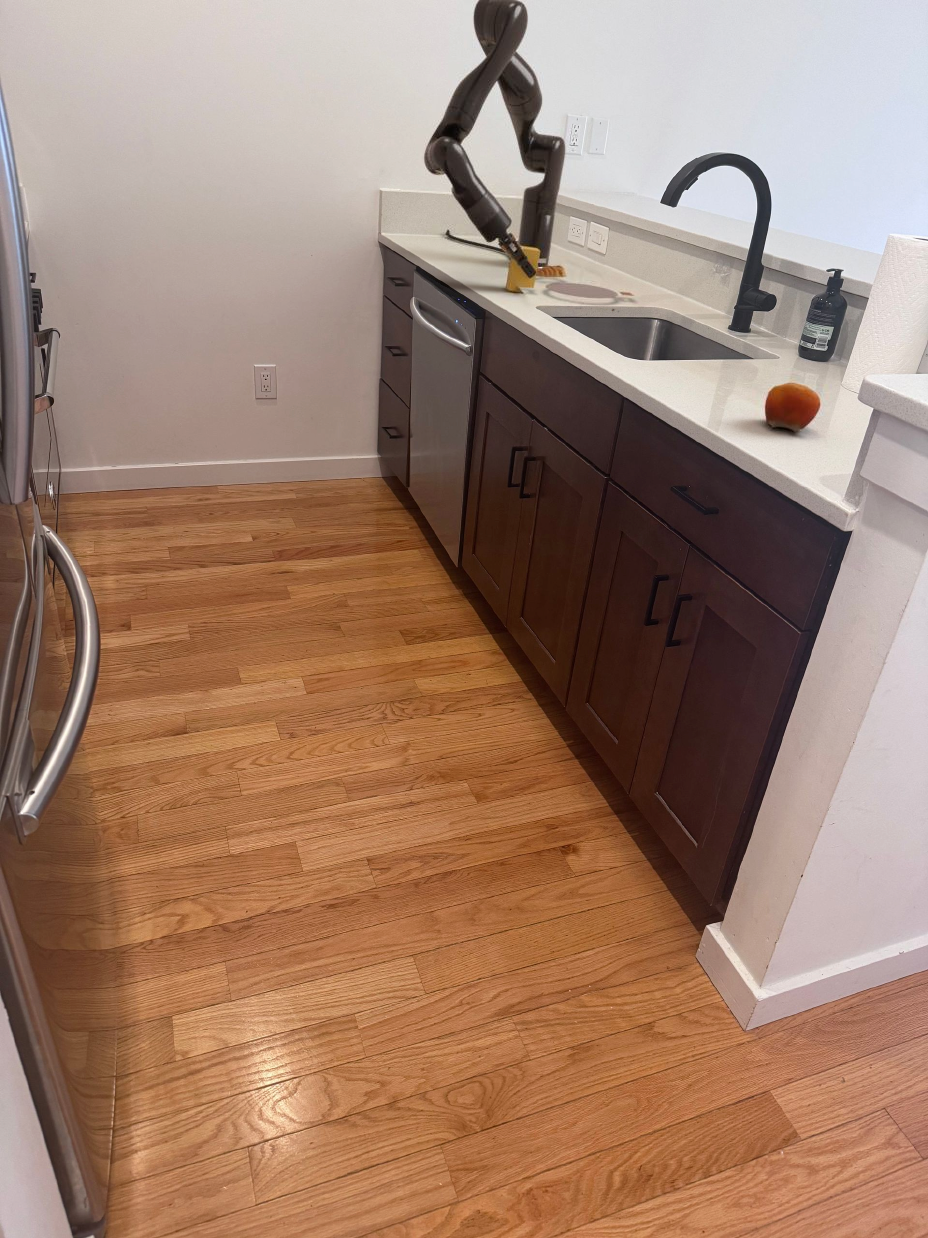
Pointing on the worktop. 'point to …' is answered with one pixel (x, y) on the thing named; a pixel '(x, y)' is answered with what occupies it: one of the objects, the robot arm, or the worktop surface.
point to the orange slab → (626, 293)
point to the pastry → (551, 271)
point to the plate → (581, 290)
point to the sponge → (516, 272)
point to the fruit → (791, 406)
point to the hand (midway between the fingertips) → (530, 273)
